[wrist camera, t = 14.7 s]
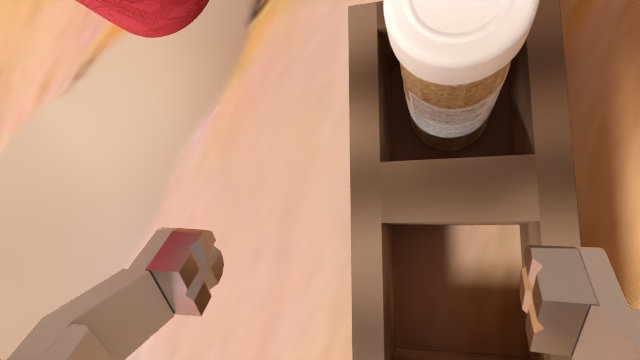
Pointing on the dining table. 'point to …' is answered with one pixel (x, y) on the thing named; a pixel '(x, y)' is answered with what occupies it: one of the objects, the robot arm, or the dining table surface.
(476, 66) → the sprinkles bottle
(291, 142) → the dining table surface
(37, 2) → the dining table surface
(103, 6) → the wine bottle
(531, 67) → the rail
